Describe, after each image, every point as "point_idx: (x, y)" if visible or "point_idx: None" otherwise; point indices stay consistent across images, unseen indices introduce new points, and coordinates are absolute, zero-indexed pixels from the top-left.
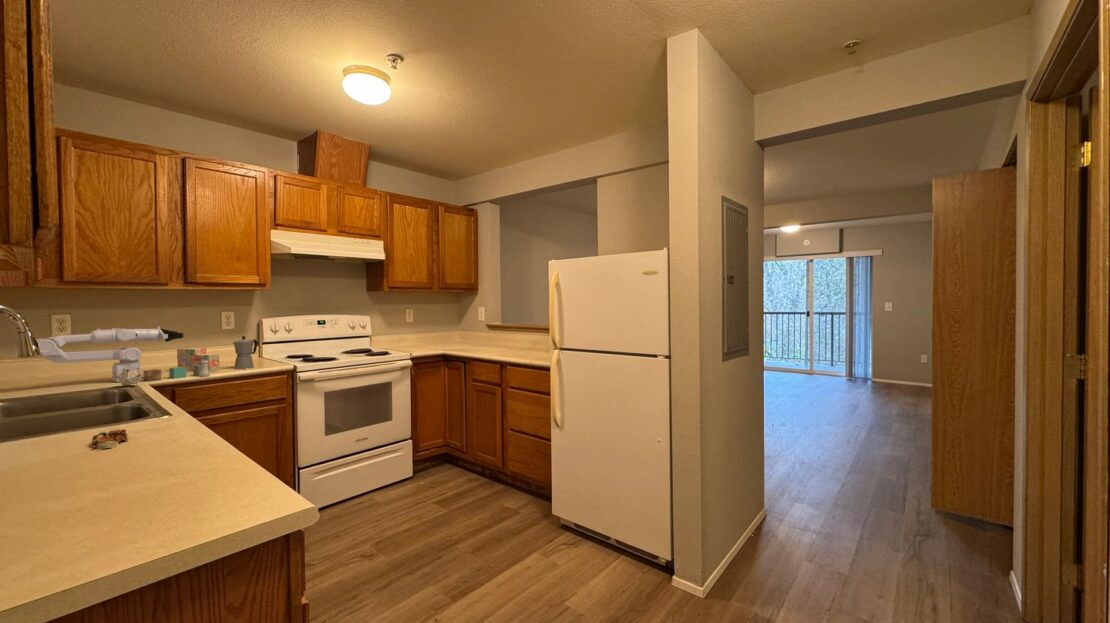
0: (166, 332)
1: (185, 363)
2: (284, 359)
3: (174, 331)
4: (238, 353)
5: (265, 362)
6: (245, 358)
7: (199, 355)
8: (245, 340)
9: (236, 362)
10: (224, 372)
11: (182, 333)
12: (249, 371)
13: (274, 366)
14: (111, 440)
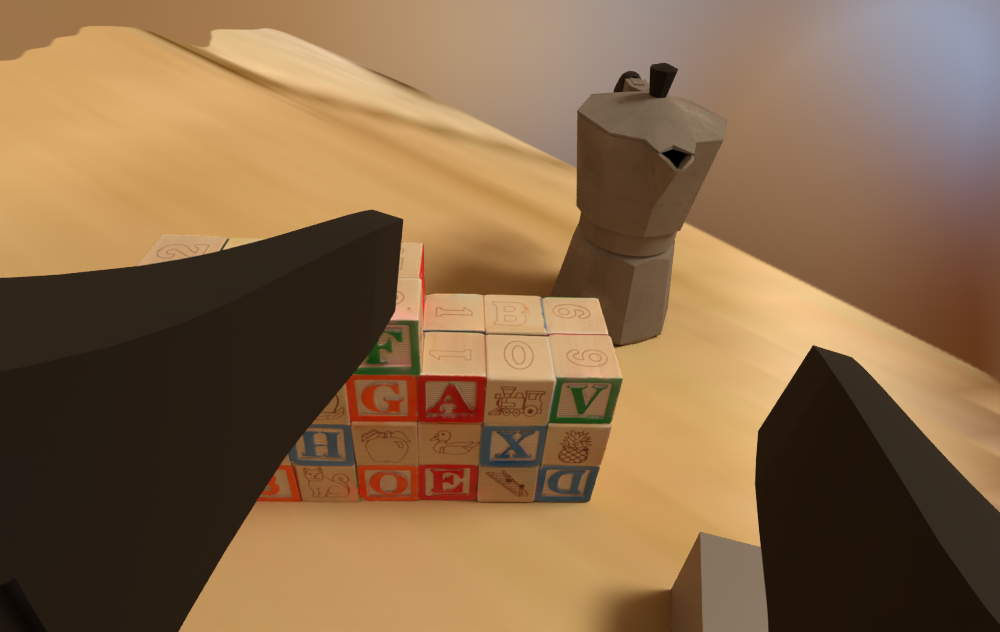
0: (221, 390)
1: None
2: (461, 115)
3: (370, 240)
4: (647, 235)
5: (469, 167)
6: (671, 260)
7: (489, 383)
8: (693, 111)
9: (607, 297)
10: (735, 481)
11: (861, 369)
12: None
13: (705, 248)
14: None
